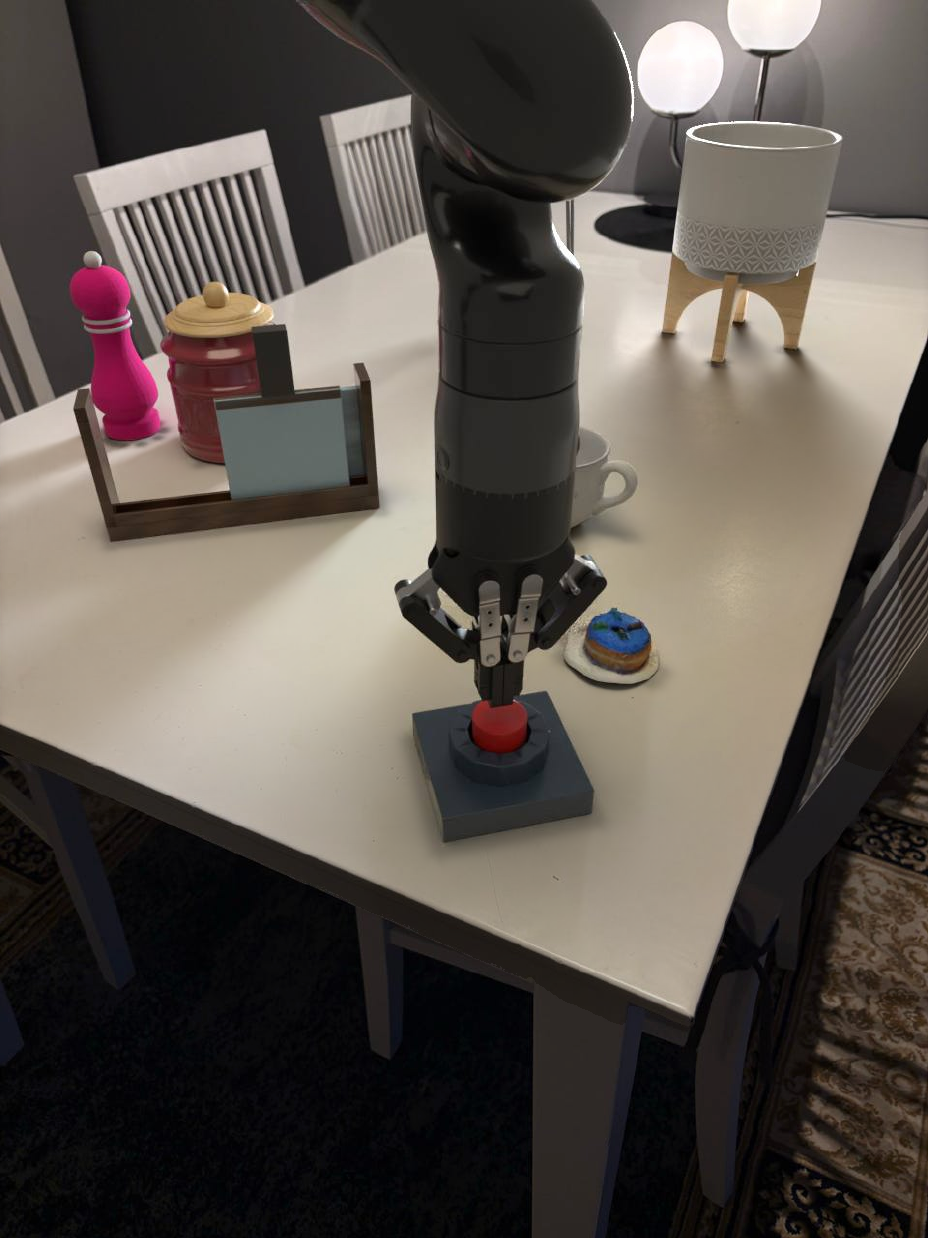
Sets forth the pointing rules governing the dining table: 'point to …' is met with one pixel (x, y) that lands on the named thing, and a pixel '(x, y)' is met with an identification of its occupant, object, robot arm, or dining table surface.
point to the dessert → (613, 649)
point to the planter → (750, 221)
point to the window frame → (219, 505)
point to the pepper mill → (114, 353)
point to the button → (499, 727)
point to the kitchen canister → (211, 361)
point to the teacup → (597, 477)
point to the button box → (500, 771)
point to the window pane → (281, 428)
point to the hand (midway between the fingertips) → (497, 698)
